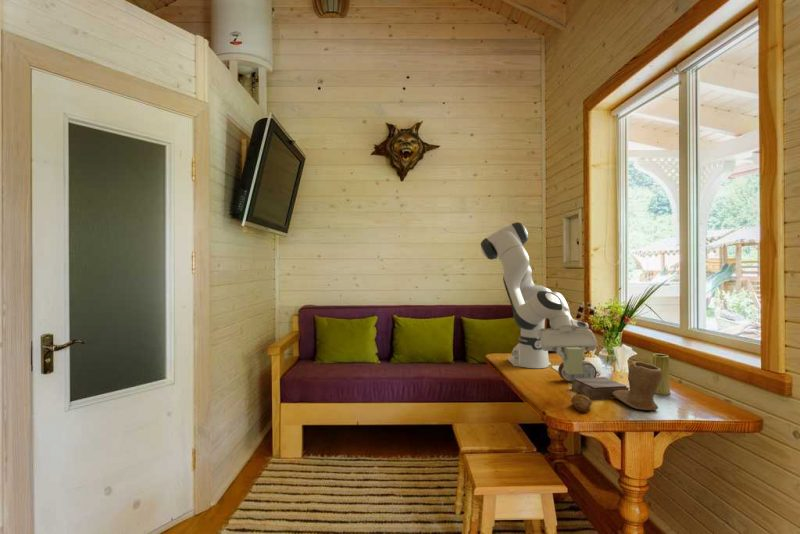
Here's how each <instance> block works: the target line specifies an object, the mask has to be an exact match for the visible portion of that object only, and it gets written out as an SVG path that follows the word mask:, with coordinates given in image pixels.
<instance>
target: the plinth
mask: <svg viewBox="0 0 800 534" xmlns="http://www.w3.org/2000/svg"><path fill="white" fill-rule="evenodd" d="M571 389H573V390H574V391H577V392H579V393H580V394H583V395H585V396H587V397H588V398H589V399H592V400H602V399H603V400H604V399H618V398H617V397H615V396H614V395H613V394H612V393H613V392H614V391H617V390H628V391H629V387H627V385H625V384H622V383H620V382H619V381H614V379H613V380H612V379H609V378H608V377H605V376H598V377H597V376H596V377H594V378H574V380H572V382H571Z"/></svg>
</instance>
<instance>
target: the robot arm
mask: <svg viewBox="0 0 800 534" xmlns="http://www.w3.org/2000/svg"><path fill="white" fill-rule="evenodd" d="M529 238H530V237H529V231H528V229H527V228H526V226H525V225H524V224H522V223H521V222H519V221H517V222H514V223H511V224H510V225H507V226H504V227H502V228H500V229H498V230H497V231H496V232H494V233H492V234H491V235H489V236H488V237H485V238H484V239H483V240H482V241H481V242H480V251H481V253H482V254H483V256H484V257H485V258H487V259H488V260H496V259H498V258H499V259H500V262H501V265H502V269H503V277H502V280H503V285H504V288H505V290H506V293H507V297H508V299H509V300H508V301H509V302H510V303H509V304H510V306H511V308H512V312H513V319H514V321H515V324H516V325H517V326H518V327H519V328H520V335H519V337H518V343H517V344H516V346H514V347H513V349H512V350H511V357H508V358H507V361H509V363H510V364H512V366H514V367H519V368H520V367H521V368H526V369H545V368H549V366H551V365H552V363H551V362H550V360H549V352H555V353H556V354H557V355H558V356H559V357H560V358H561V361H564V360H566V359H567V356H566V354H564V352H563V347H579V348H581V349H583V361H585V359H586V357H585V356H586V355H585V352H586V351H589V352H590V351H595V350H596V349H597V346H598V340H597V339H596V336H595V334H594V332H593V330H591V329H589V328H590V325H589V323H588V322H586V321H585V322H584V321H580V320H577V319H575V318H573V317H572V315H571V310H570V307H569V305H568V302H567V300H566V299H565V297H564V295H563V294H562V293H560V292H559V291H558V292H557V291H552V290H551V289H550V288H548V287H546V286H544V285H540V284H535V283H534V281H533V277H532V273H533V270H532V267H531V265H530V256H529V253H528V251H527V250H526V249H525V246H524V244H526V243H527V241H528V240H529ZM546 319H548V320H549V326H550V328H549V327H548V328H545V325H546V323H545V321H546Z"/></svg>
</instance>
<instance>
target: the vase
mask: <svg viewBox="0 0 800 534" xmlns="http://www.w3.org/2000/svg"><path fill="white" fill-rule="evenodd" d="M652 365H653V366H656V367H658V368H660V369H661V371H662V378H661V381H660V383H659V385H658V387H657V389H656V391H655V393H654V394H657V395H662V396H663V395H664V396H667V395H671V389H670V388H671V385H670V356H669V355H668V354H665V353H664V354H663V353H654V354H652Z"/></svg>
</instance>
